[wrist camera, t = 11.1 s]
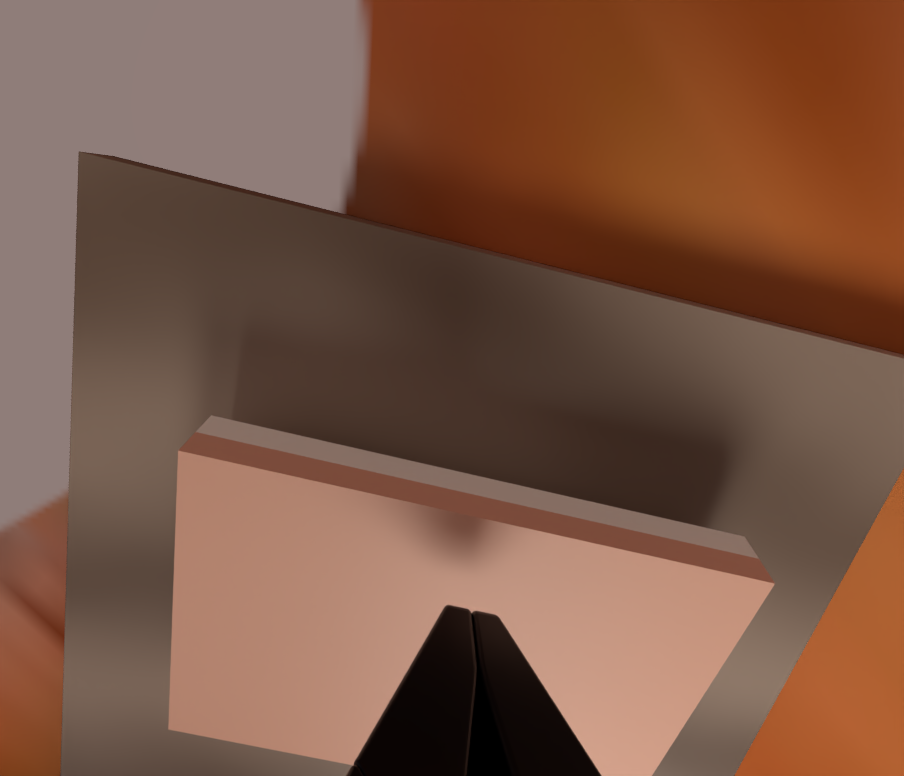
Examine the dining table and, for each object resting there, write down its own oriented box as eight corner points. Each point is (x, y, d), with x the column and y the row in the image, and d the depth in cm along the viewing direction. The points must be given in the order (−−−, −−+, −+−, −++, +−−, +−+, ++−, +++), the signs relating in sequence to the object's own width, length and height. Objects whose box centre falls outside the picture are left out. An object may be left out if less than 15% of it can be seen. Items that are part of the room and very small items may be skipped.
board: (621, 920, 17) (630, 964, 16) (82, 822, 16) (58, 861, 15) (914, 357, 11) (955, 371, 10) (114, 156, 10) (79, 152, 9)
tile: (775, 583, 9) (744, 536, 11) (178, 450, 9) (211, 415, 10) (624, 818, 12) (612, 762, 13) (167, 729, 12) (194, 678, 13)
